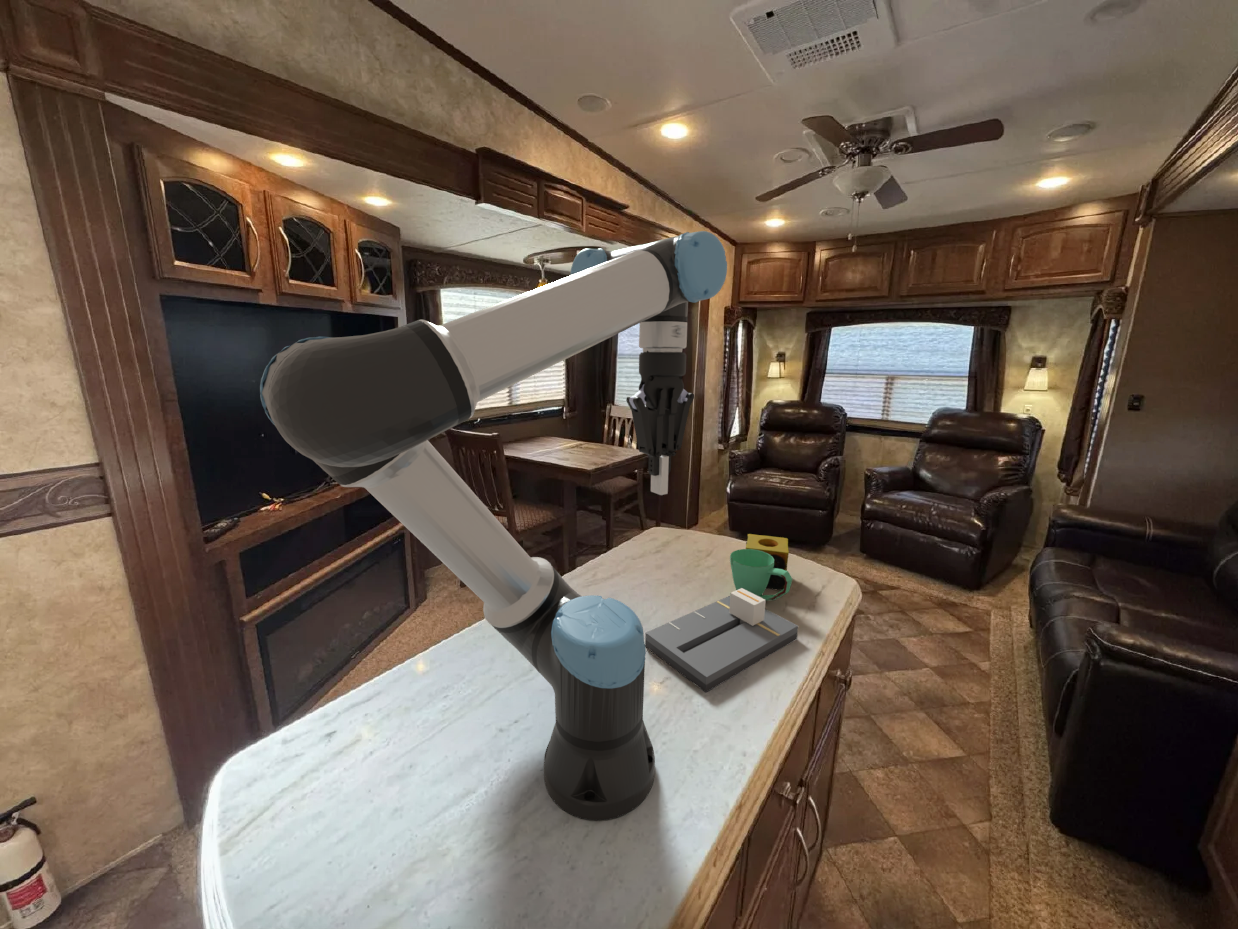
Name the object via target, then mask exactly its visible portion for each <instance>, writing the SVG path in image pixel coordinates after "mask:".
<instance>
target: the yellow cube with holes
mask: <svg viewBox="0 0 1238 929" xmlns="http://www.w3.org/2000/svg"><path fill="white" fill-rule="evenodd" d="M745 549H753V550H759V551H763V552H765V553H768V554H769V555H771V556H772V557H773V558H774V567H773V568H777V569H783V570H785V571H788V563H789V562H788V561H789V552H790V551H789V550H790V549H789V539H788V538H787V537H781V536H780V537H779V536H771V535H759V534H752V533H747V540H746V542H745ZM784 587H785V580H784V578H783V577H781V576H778V575H770V578H769V582H768V584H767V587H766V589H768V590H769V589H770V590H775V589H777V591H781V590H783V589H784ZM766 589H765V590H766Z"/></svg>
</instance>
